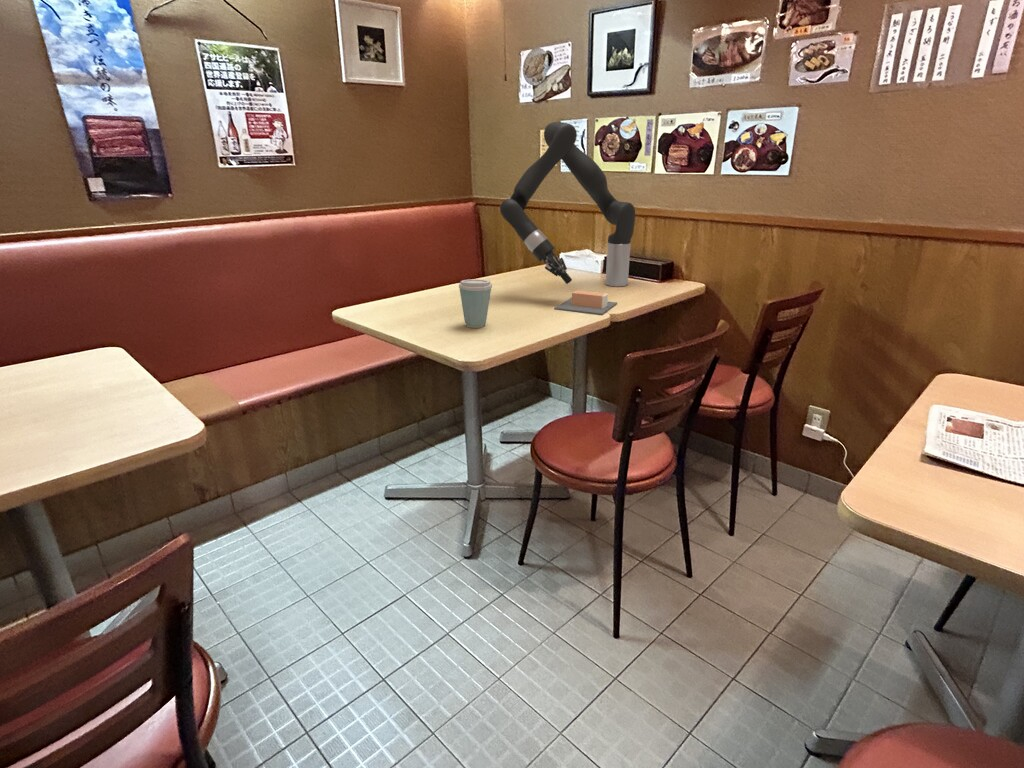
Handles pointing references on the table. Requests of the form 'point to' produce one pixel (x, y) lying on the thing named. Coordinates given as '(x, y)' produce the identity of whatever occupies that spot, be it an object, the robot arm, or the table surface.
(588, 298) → the terracotta block
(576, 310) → the charcoal mat
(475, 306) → the disposable coffee cup
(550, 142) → the robot arm
